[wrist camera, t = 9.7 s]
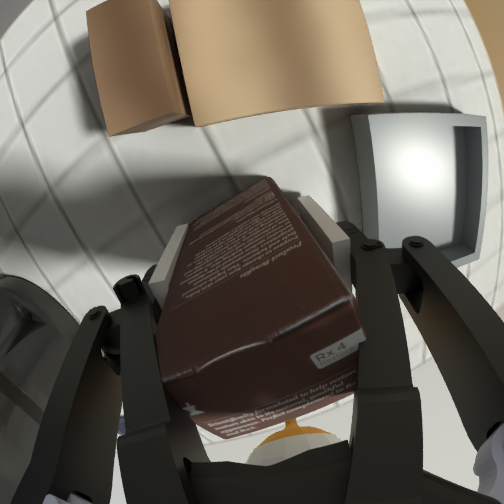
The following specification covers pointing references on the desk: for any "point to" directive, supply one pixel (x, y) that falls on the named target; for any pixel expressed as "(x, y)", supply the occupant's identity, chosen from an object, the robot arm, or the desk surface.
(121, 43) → the brown rectangular block
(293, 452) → the cup
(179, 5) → the light brown wooden block
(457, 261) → the tray
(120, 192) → the desk surface
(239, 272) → the box
